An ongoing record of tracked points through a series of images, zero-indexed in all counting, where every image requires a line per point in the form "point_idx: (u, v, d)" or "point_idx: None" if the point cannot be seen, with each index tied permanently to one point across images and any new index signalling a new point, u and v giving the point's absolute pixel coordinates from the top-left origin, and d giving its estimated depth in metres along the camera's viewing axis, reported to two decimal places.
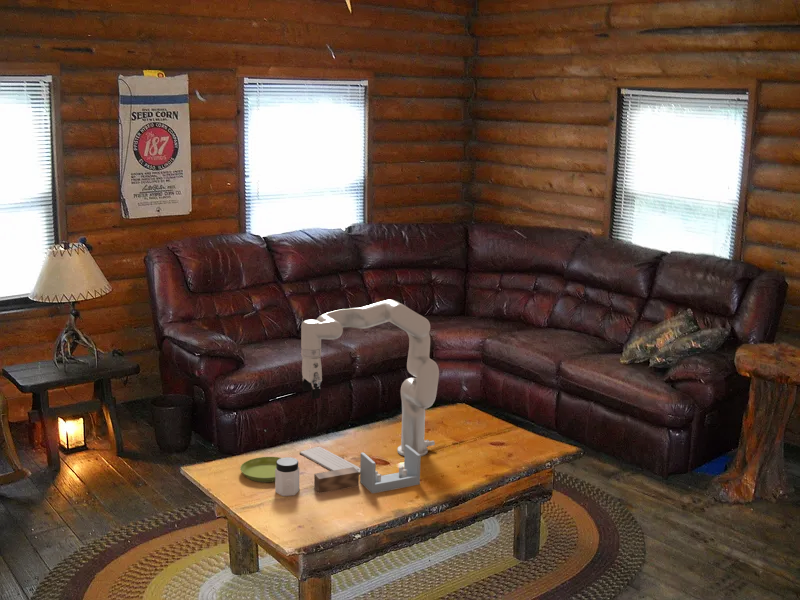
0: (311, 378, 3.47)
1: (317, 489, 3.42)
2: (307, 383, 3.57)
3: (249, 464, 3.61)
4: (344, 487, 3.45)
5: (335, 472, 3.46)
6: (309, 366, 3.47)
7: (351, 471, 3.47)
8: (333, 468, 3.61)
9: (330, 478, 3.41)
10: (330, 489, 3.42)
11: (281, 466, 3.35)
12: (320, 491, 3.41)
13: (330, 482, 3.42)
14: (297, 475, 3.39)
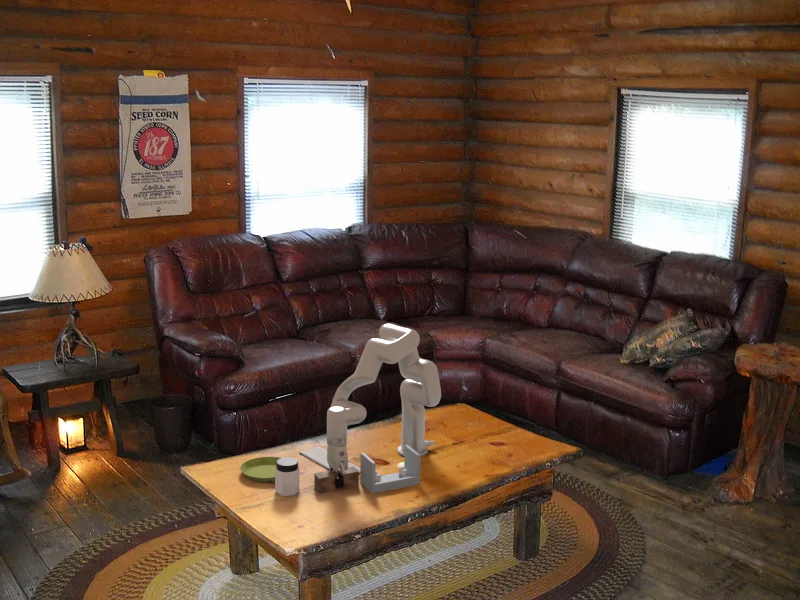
0: (337, 467, 3.39)
1: (317, 489, 3.42)
2: None
3: (249, 464, 3.61)
4: (344, 487, 3.45)
5: (335, 471, 3.45)
6: (335, 455, 3.38)
7: (351, 470, 3.46)
8: None
9: (330, 477, 3.41)
10: (330, 489, 3.42)
11: (281, 466, 3.35)
12: (320, 491, 3.40)
13: (330, 482, 3.42)
14: (297, 475, 3.39)
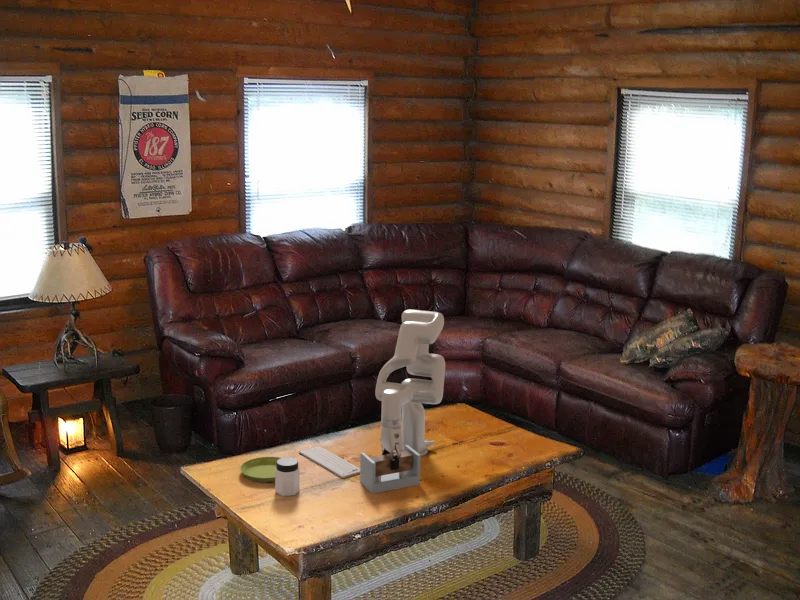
0: (392, 449, 3.42)
1: None
2: None
3: (249, 464, 3.61)
4: (398, 471, 3.48)
5: (389, 455, 3.49)
6: (390, 437, 3.41)
7: (405, 454, 3.50)
8: (331, 468, 3.61)
9: (385, 461, 3.45)
10: (385, 472, 3.46)
11: (281, 466, 3.35)
12: (375, 474, 3.44)
13: (385, 465, 3.45)
14: (297, 475, 3.39)
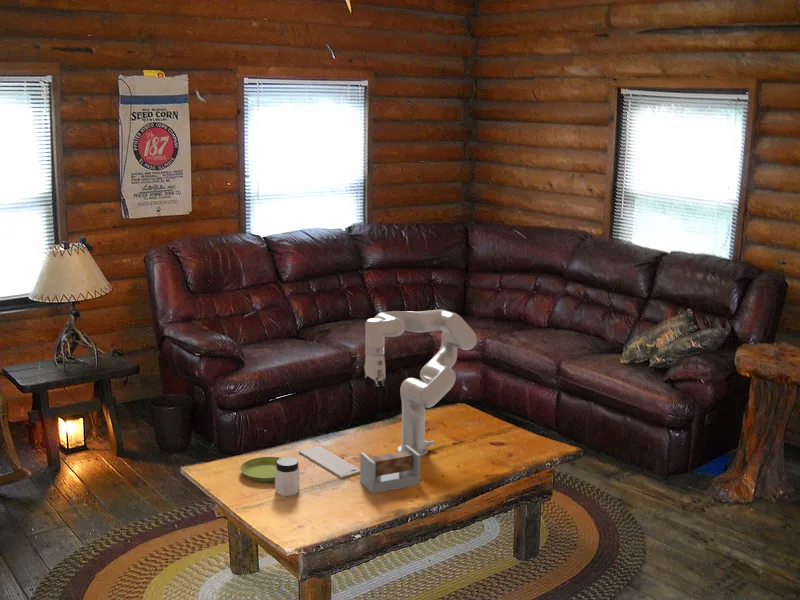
0: (375, 375, 3.55)
1: None
2: (369, 380, 3.65)
3: (249, 464, 3.61)
4: (398, 471, 3.48)
5: (389, 455, 3.49)
6: (373, 364, 3.55)
7: (405, 454, 3.50)
8: (331, 468, 3.61)
9: (385, 461, 3.45)
10: (385, 472, 3.46)
11: (281, 466, 3.35)
12: (375, 474, 3.44)
13: (385, 465, 3.45)
14: (297, 475, 3.39)
